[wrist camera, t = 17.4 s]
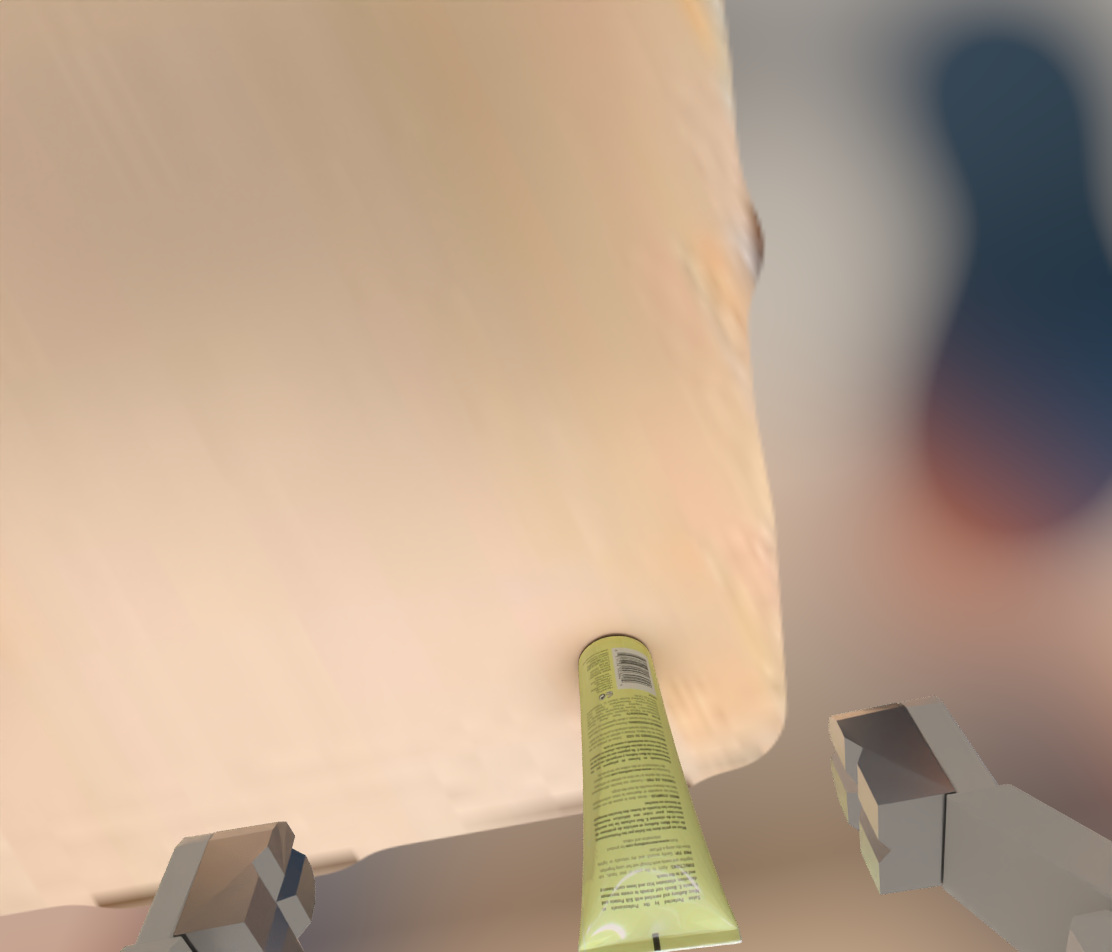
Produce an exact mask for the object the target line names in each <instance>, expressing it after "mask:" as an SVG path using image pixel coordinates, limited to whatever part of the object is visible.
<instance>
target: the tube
mask: <svg viewBox="0 0 1112 952" xmlns="http://www.w3.org/2000/svg"><path fill="white" fill-rule="evenodd" d="M578 670H579V689H580V706H581V733H582V763H583V816H584V818H583V820H584V834H583V838H584V839H583V841H584V842H583V882H582V911H581V924H580V935H579V944H578V952H667V951H676V950H685V949H693V948H701V947H711V946H719V945H727V944H736V943H741V942H742V939H741V934H740V930H739V927H738V924H737V922H736V919H735V917H734V915H733V912H732V910H731V908H730V906H729V904H728V901H727V899H726V897H725V894H724V891H723V889H722V886H721V883H720V881H719V878H718V875H717V873H716V870H715V867H714V864H713V862H712V859H711V856H710V853H709V850H708V847H707V844H706V842H705V839H704V836H703V833H702V830H701V827H700V824H699V821H698V818H697V815H696V812H695V809H694V806H693V802H692V799H691V796H690V793H689V790H688V787H687V784H686V781H685V777H684V774H683V771H682V767H681V764H680V761H679V757H678V754H677V751H676V747H675V744H674V740H673V736H672V733H671V729H670V726H669V722H668V719H667V715H666V711H665V708H664V704H663V700H662V696H661V692H660V688H659V684H658V681H657V677H656V673H655V669H654V665H653V661H652V658H651V655H650V653H649V651H648V649H647V648H646V647H645V646H644V645H643V644H642V643H640V642H639V641H637V640H635V639H633V638H629V637H625V636H611V637H606V638H602V639H600V640H597V641H595V642H593V643H592V644H591V645H589V646H588V647H587V648H586V649H585V650H584V651H583V653H582V655H581V657H580V659H579V664H578Z"/></svg>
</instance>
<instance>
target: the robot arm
mask: <svg viewBox="0 0 1112 952" xmlns="http://www.w3.org/2000/svg"><path fill="white" fill-rule="evenodd" d="M829 735H830V738H831V740H832V742H833V744H834V747H835V749H836V751H835V752H834V753H833V754H832V756H831V766H832V775H833V779H834V784H835V788H836V792H837V795H838V798H839V801H840V804H841V807H842V809H843V812H844V814H845V816H846V819H847V821H848V823H849V824H850V825H851V826H853V827H855V828H856V829H857V830H859V831H860V846H861V853H862V855H863V858H864V860H865V862H866V864H867V866H868V869H869V871H870V873H871V875H872V877H873V880H874V882H875V884H876V886H877V889H878V891H879V893H880V895H881V894H887V893H894V892H900V891H907V890H913V889H921V888H928V887H934V886H941V885H943V889H944V890H946V891H947V892H948V893H949V894H950V895H952V896H953V897H954V898H955V899H956V900H958V901H959V902H960V903H961V904H962V905H964V906H965V907H966V908H967V909H968V910H970V911H971V912H972V913H973V914H975V915H976V916H977V917H978V918H979V919H981V920H982V921H983V922H984V923H985V924H987V925H988V926H989V927H990V928H992V929H993V930H994V931H995V932H996V933H997V934H999V935H1000V936H1001V937H1002V938H1004V939H1005V940H1006V941H1007V942H1008V943H1010V944H1011V945H1012V946H1013V947H1014V948H1016V949H1017V950H1018V951H1019V952H1112V841H1110V840H1108V839H1106V838H1104V837H1103V836H1101V835H1099V834H1097V833H1096V832H1094V831H1092V830H1090V829H1089V828H1087V827H1085V826H1083V825H1081V824H1080V823H1078V822H1076V821H1074V820H1073V819H1071V818H1069V817H1067V816H1066V815H1064V814H1062V813H1060V812H1059V811H1057V810H1055V809H1053V808H1051V807H1050V806H1048V805H1046V804H1044V803H1042V802H1041V801H1039V800H1037V799H1035V798H1034V797H1032V796H1030V795H1028V794H1027V793H1025V792H1023V791H1021V790H1020V789H1018V788H1016V787H1014V786H1012V785H1011V784H1005V785H998V784H997V782H996V781H995V779H994V778H993V777H992V775H991V773H990V772H989V770H988V769H987V768H986V766H985V764H984V763H983V762H982V760H981V759H980V757H979V756H978V754H977V753H976V751H975V750H974V748H973V747H972V745H971V744H970V742H969V741H968V739H967V738H966V736H965V735H964V733H963V732H962V731H961V729H960V727H959V726H958V724H957V723H956V721H955V720H954V719H953V717H952V715H951V714H950V712H949V711H948V710H947V708H946V707H945V705H944V704H943V702H942V701H941V700H940V699H939V698H937V697H936V696H930V697H924V698H919V699H914V700H909V701H904V702H900V703H899V704H898V703H892V704H887V705H882V706H877V707H872V708H867V709H862V710H857V711H852V712H847V713H842V714H838V715H833V716H830V719H829ZM294 838H295V835H294V833H293V832H292V830H291V829H290V827H289V825H288V824H287V822H274V823H268V824H262V825H256V826H250V827H244V828H237V829H231V830H225V831H219V832H215V833H209V834H203V835H198V836H192V837H186V838H184V839H183V840H182V841H181V842H180V843H179V844H178V845H177V846H176V848H175V849H174V852H173V854H172V856H171V859H170V861H169V864H168V866H167V868H166V871H165V873H164V876H163V878H162V880H161V883H160V885H159V888H158V890H157V892H156V895H155V897H154V900H153V902H152V904H151V907H150V909H149V912H148V914H147V916H146V919H145V921H144V924H143V926H142V928H141V931H140V933H139V936H138V938H137V941H136V943H135V944H134V945H129V946H125V947H124V948H123V949H122V950H121V951H120V952H304V950H303V948H302V947H301V945H300V943H299V941H298V938H299V937H300V935H301V934H302V933H303V932H304V930H305V929H306V928H307V927H308V925H309V924H310V923H311V921H312V916H313V911H314V906H315V879H314V875H313V871H312V867H311V865H310V863H309V861H308V859H307V857H306V855H304V854H302V853H300V852H298V851H296V850H294V849H292V846H293V842H294Z"/></svg>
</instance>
